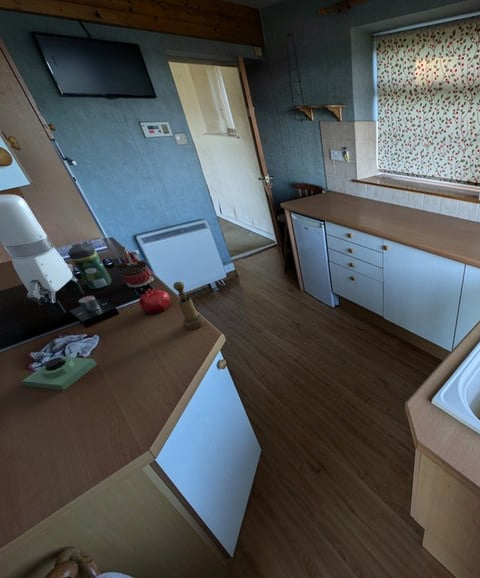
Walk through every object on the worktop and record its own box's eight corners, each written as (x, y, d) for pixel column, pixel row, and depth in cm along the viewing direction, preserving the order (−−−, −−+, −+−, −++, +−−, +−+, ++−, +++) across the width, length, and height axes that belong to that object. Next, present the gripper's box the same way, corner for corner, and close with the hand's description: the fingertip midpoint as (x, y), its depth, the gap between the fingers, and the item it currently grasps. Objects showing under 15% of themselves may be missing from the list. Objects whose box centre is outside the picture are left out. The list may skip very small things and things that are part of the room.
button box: (26, 386, 83) (17, 376, 81) (62, 360, 92) (55, 351, 90) (64, 390, 82) (56, 380, 80) (97, 364, 91) (91, 354, 89)
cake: (123, 290, 127) (103, 252, 117) (130, 280, 134) (111, 244, 125) (153, 286, 130) (135, 248, 121) (157, 276, 138) (141, 240, 128)
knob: (82, 310, 109) (76, 299, 107) (97, 304, 113) (91, 293, 110) (87, 313, 107) (80, 303, 105) (102, 307, 111) (96, 297, 108)
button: (44, 370, 84) (40, 365, 83) (57, 361, 87) (54, 356, 86) (55, 371, 83) (52, 367, 82) (68, 362, 86) (65, 357, 85)
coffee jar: (90, 282, 132) (67, 244, 122) (112, 277, 136) (92, 240, 126) (88, 292, 125) (63, 252, 116) (111, 286, 129) (90, 248, 120)
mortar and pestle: (180, 327, 106) (161, 285, 97) (195, 317, 111) (179, 276, 102) (193, 331, 104) (175, 289, 95) (208, 321, 109) (193, 280, 100)
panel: (73, 317, 111) (69, 310, 109) (105, 304, 118) (101, 297, 116) (86, 327, 105) (82, 320, 104) (119, 313, 113) (115, 307, 111)
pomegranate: (176, 299, 121) (168, 280, 116) (168, 313, 113) (159, 293, 108) (148, 303, 119) (139, 283, 114) (138, 317, 111) (127, 297, 106)
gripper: (32, 236, 78) (68, 291, 87) (-18, 264, 64) (31, 325, 73) (68, 233, 80) (99, 287, 89) (27, 260, 66) (68, 320, 75)
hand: (68, 304), depth 81 cm, fingers open, 9 cm apart
